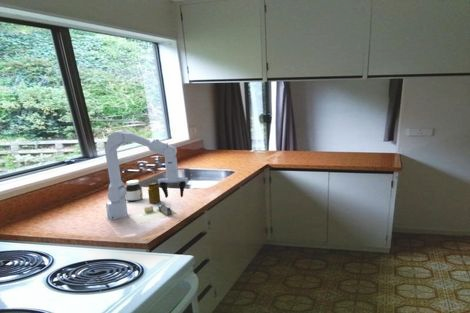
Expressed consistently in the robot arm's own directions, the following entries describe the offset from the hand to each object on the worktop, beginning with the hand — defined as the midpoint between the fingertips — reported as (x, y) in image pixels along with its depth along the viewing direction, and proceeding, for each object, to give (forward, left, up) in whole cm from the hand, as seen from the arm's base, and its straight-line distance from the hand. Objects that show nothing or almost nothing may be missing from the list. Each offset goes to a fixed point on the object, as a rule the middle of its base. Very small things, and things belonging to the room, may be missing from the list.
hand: (174, 196), depth 160 cm
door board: (-10, +5, -10) cm, 15 cm away
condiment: (-1, +24, -10) cm, 25 cm away
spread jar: (-9, +41, -10) cm, 43 cm away
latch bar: (-4, +4, -8) cm, 10 cm away
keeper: (-10, +11, -8) cm, 17 cm away
